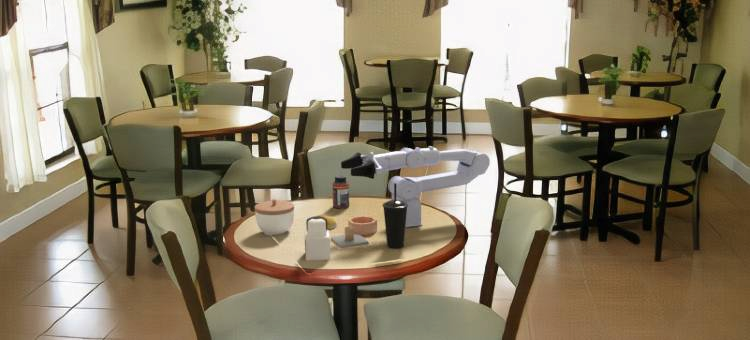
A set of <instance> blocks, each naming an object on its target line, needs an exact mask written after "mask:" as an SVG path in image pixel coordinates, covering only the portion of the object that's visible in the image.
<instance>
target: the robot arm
mask: <svg viewBox="0 0 750 340" xmlns="http://www.w3.org/2000/svg"><path fill="white" fill-rule="evenodd" d="M453 161H454V162H456V161H457V162H458V163H457V167H456V170H454V171H449V172H448V171H447V172H442V173H436V174H430V175H425V176H423V175H422V176H418V177H417V176H416V177H413V176H412V177H411V176H404V177H403V176H399V175H396V176H395V175H394V176H393V177H391V179H389V180H388V186H387V188H388V189H387V190H388V191H389V192H390V193H391V200H394V183H396V200H401V201H403V202H406V203H408V207H407V214H406V225H405V228H411V227H417V226H418V227H419V226H423V223H422V203H421V200H420V198H419V197H420V196H421V195H422V193H426V192H431V191H432V192H433V191H437V190H443V189H447V188H448V189H449V188H454V187H461V186H465V185H468V184H469V183H471V182H472V181H473V180H475V179H477V178H478V177H479V176H482V175H484V174H486V172H487V170H488V168H489V167H490V165H491V161H490V157H489V156H488V155H487V153H481V152H478V151H475V150H474V149H472V148H458V149H449V150H441V151H440V150H438V149H437V148H436V147H434V146H431V145H429V146H428V147H427V148H420V147H417V146H416V147H415V149H412V148H410V147H409V148H408V147H402V148H401V149H400V150H398V151H391V152H384V153H378V154H375V153H374V152H373V151H369V153H368V155H365V154H361V152H356V153H355V154H354V155H353V156H351V157H349V158H347V159H344V160H342V161H341V162H340V166H341V167H340V168H341V169H343V170H346V169H350V176H352V177H363V178H368V179H371V180H374V179H375V175H377V176H379V175H383V172H388V171H393V170H399V169H404V168H407V167H408V168H410V169H411V168H412V169H418V168H419V167H425V166H426V167H427V166H436V165H438V164H439V163H440V162H453Z"/></svg>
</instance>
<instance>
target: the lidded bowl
mask: <svg viewBox="0 0 750 340" xmlns="http://www.w3.org/2000/svg"><path fill="white" fill-rule="evenodd" d="M254 216H255V221H256V224H257V226H258V228H259V230H260V231H262V232H263V234H264V235H265V236H269V237H273V236H275V235H276V236H277V235H283V234H285V233H286V232H288V231H289V230H290V229H291V227H292V226H293V223H294V216H295V204H294V202H291V201H288V200H287V201H286V200H277V199H275V198H273V199H272V200H265V201H262V202H259V203H256V204H255V205H254Z"/></svg>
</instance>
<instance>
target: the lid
mask: <svg viewBox="0 0 750 340" xmlns="http://www.w3.org/2000/svg"><path fill="white" fill-rule="evenodd" d="M363 237H364V236H363V235H359V234H358V233H357V234H354V228H353V227H348V226H345V227H344V235H337V236H336V235H335V236H331V237H330V238H331V240H332V241H333V242H334V243H336V244H337V245H338V246H339V247H340V248H345V247H352V246H359V245H366V244H369V242H370V241H369V240H367V239H366V238H365V237H364V238H365V239H364V238H363ZM368 241H369V242H368Z"/></svg>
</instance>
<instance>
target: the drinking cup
mask: <svg viewBox="0 0 750 340" xmlns="http://www.w3.org/2000/svg"><path fill="white" fill-rule="evenodd" d="M407 207H408V203H406V202H403V201H401V200H396V183H394V200H392V199H391V200H388V201H385V202H382V208H383V215H384V226H385V235H386V245H387V248H388V249H392V250H394V249H395V250H399V249H402V248H404V245H405V244H404V243H405V235H406V227H405V225H406V214H407Z"/></svg>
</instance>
